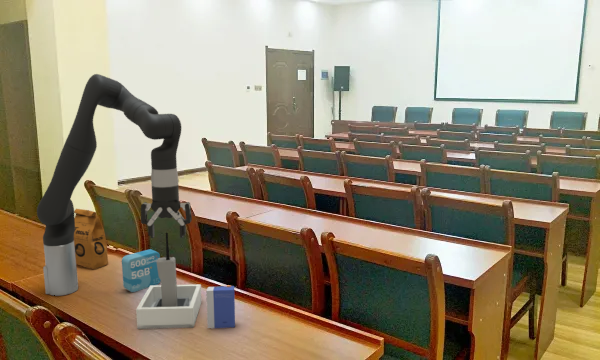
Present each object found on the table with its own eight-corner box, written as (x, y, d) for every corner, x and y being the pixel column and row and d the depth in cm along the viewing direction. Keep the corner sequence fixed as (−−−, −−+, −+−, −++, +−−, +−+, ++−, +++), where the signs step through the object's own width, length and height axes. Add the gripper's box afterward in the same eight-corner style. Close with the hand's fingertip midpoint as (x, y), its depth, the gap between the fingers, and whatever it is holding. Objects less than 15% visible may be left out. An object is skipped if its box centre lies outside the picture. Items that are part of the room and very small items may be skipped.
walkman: (235, 322, 145) (234, 284, 142) (234, 327, 142) (233, 288, 140) (208, 324, 144) (206, 285, 142) (207, 328, 141) (205, 289, 139)
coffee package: (90, 272, 183) (85, 215, 179) (69, 265, 189) (64, 210, 185) (112, 264, 191) (108, 209, 187) (92, 258, 198) (88, 205, 194)
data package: (129, 293, 165) (127, 259, 162) (123, 289, 168) (121, 256, 165) (161, 283, 173) (159, 251, 171) (154, 279, 176) (153, 248, 174)
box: (137, 328, 141) (136, 309, 140) (151, 303, 158) (150, 285, 156) (193, 327, 142) (192, 308, 141) (201, 301, 159) (200, 284, 157)
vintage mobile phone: (161, 309, 151) (156, 231, 146) (177, 308, 152) (174, 230, 147) (159, 314, 147) (154, 234, 143) (176, 313, 148) (172, 234, 143)
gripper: (136, 186, 138) (139, 241, 141) (187, 185, 139) (189, 240, 142) (143, 181, 145) (146, 233, 148) (191, 180, 146) (193, 233, 149)
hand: (167, 237), depth 145 cm, fingers open, 8 cm apart
